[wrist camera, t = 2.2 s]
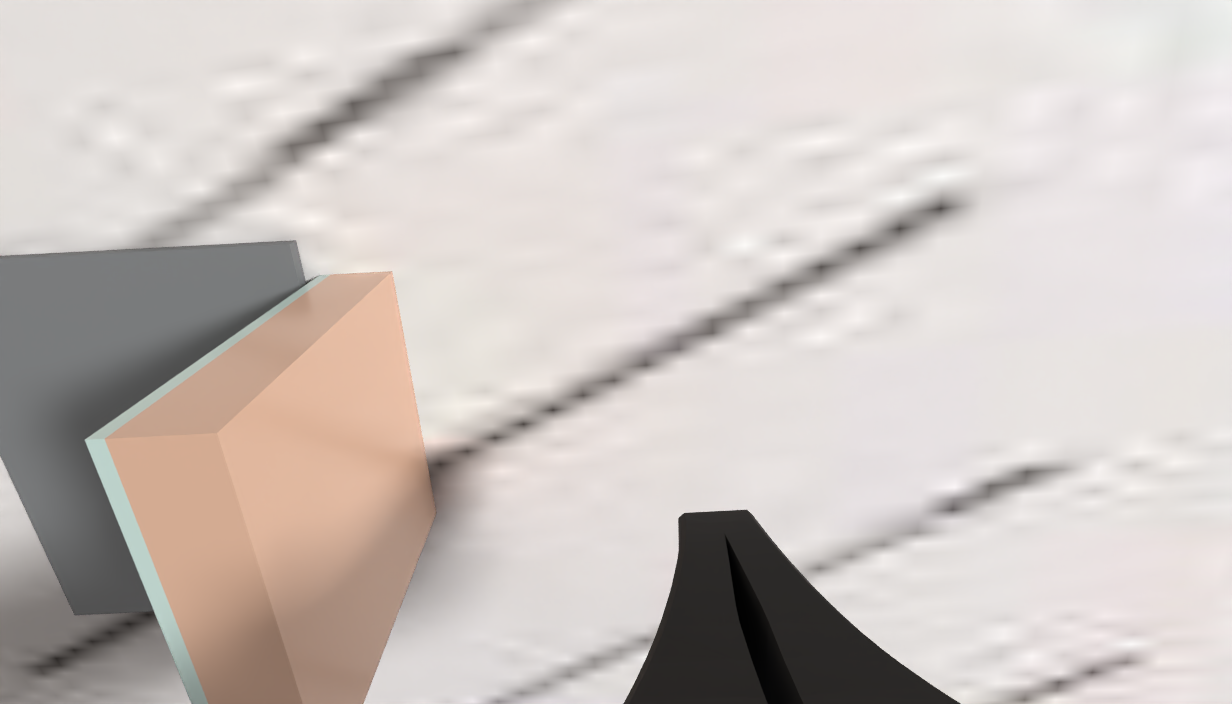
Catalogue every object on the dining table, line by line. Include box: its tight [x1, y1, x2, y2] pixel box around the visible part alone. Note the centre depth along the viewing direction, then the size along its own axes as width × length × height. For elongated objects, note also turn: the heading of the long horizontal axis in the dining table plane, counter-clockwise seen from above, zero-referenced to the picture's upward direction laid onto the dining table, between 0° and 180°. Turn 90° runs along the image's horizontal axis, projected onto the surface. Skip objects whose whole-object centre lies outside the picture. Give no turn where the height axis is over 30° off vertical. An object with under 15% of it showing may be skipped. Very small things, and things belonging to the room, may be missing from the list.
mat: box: [0, 241, 306, 615], centre depth 20 cm, size 12×10×1 cm
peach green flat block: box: [85, 271, 436, 704], centre depth 16 cm, size 8×2×9 cm, turn 3°
